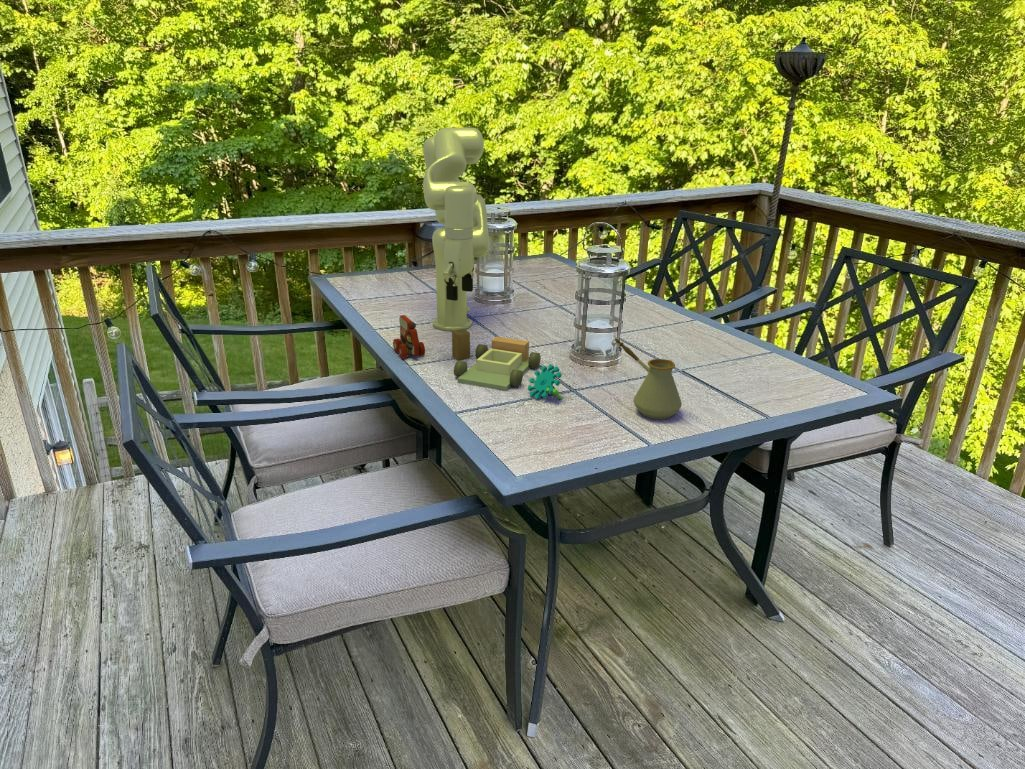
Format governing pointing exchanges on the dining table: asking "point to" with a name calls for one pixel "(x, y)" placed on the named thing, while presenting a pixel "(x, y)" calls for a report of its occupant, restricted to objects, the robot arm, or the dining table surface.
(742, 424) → the dining table surface
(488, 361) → the chassis
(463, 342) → the wooden block
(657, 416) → the coffee pot
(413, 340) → the red toy vehicle
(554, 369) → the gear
